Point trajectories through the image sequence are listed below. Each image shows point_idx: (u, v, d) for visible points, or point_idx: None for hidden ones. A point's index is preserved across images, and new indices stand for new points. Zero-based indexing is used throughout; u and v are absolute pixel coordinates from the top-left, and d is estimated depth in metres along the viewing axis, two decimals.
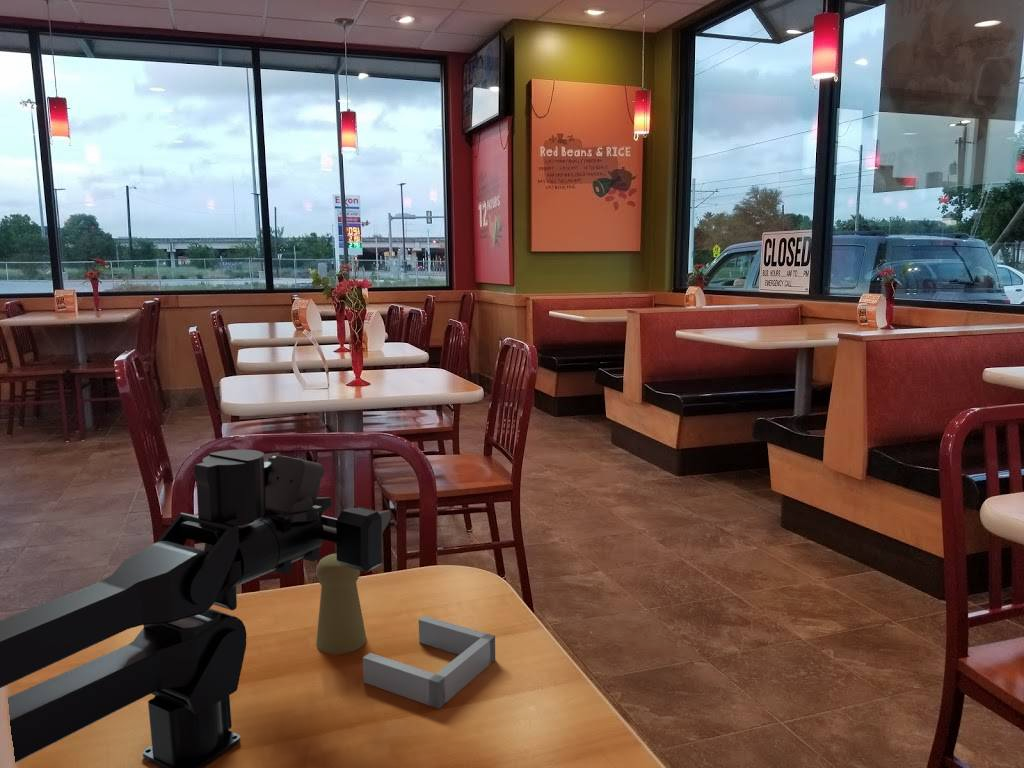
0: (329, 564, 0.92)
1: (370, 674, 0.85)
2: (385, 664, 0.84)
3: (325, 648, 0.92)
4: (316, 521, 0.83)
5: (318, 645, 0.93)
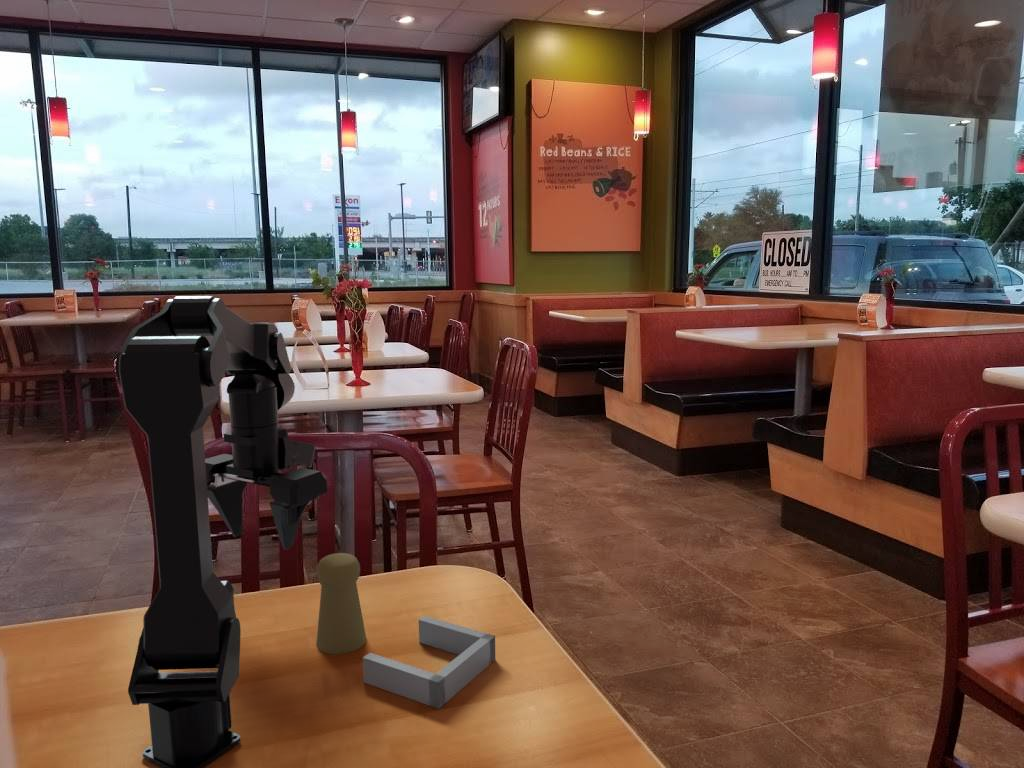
0: (329, 564, 0.92)
1: (370, 674, 0.85)
2: (385, 664, 0.84)
3: (325, 648, 0.92)
4: (280, 467, 0.98)
5: (318, 645, 0.93)
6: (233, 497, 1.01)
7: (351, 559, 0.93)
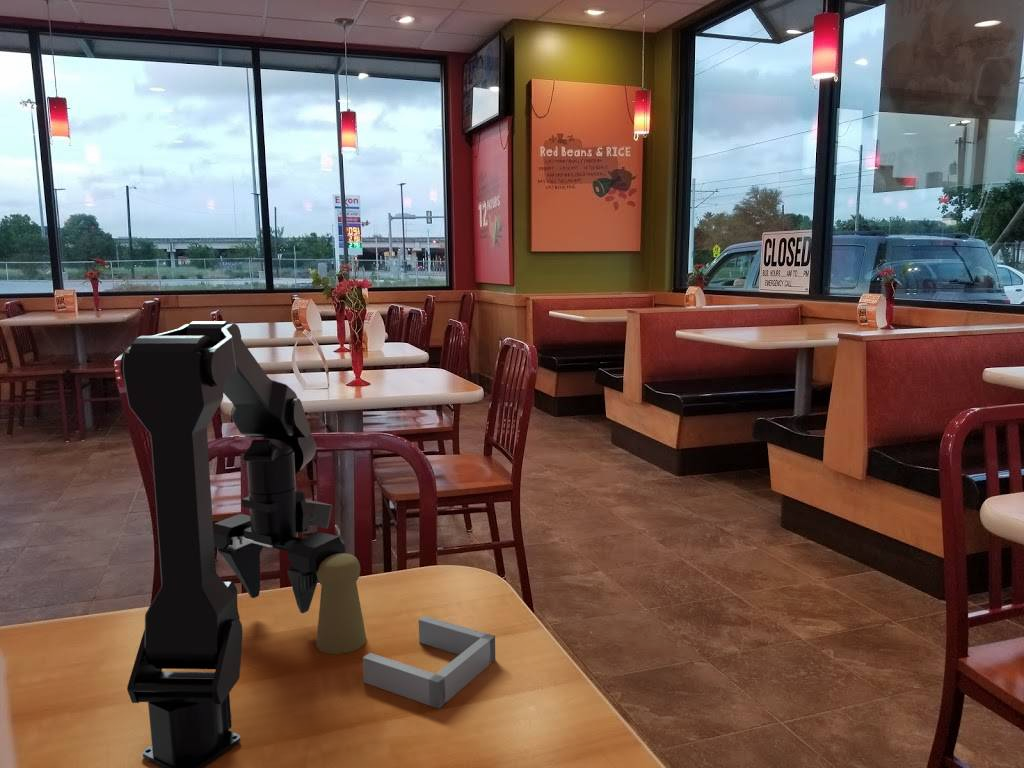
0: (329, 563, 0.92)
1: (370, 674, 0.85)
2: (385, 664, 0.84)
3: (325, 648, 0.92)
4: (297, 531, 0.98)
5: (318, 645, 0.93)
6: (250, 559, 1.01)
7: (351, 559, 0.93)
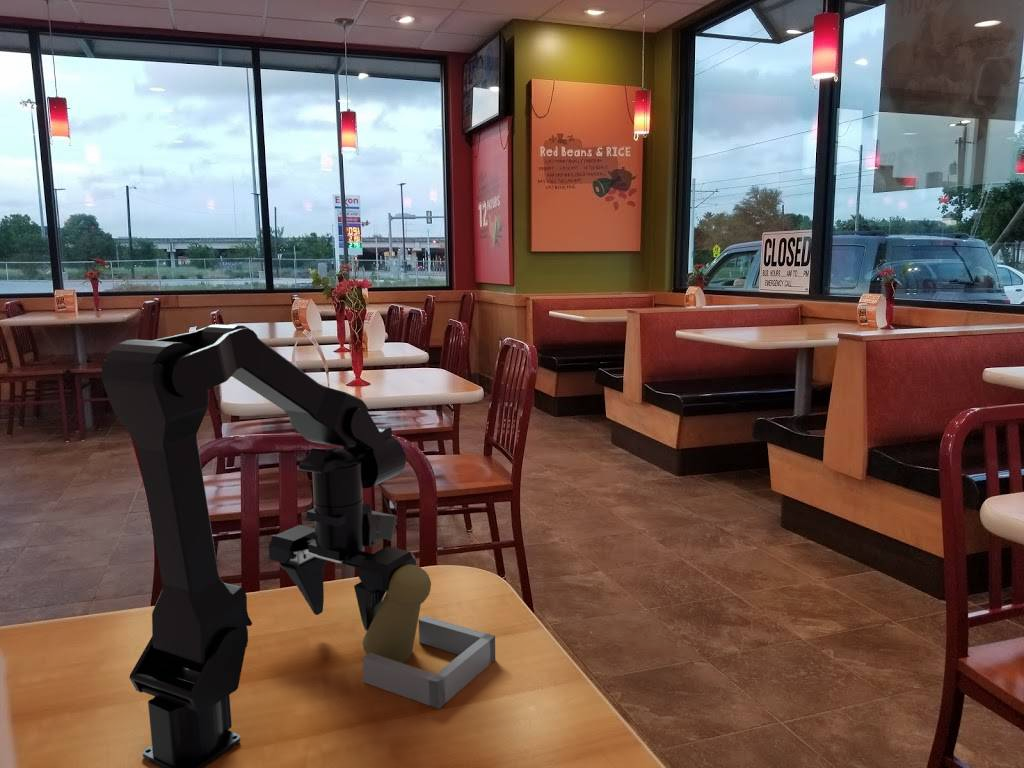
0: (403, 581, 0.86)
1: (370, 674, 0.85)
2: (385, 664, 0.84)
3: None
4: (364, 544, 0.93)
5: (366, 647, 0.90)
6: (314, 574, 0.96)
7: (426, 580, 0.88)
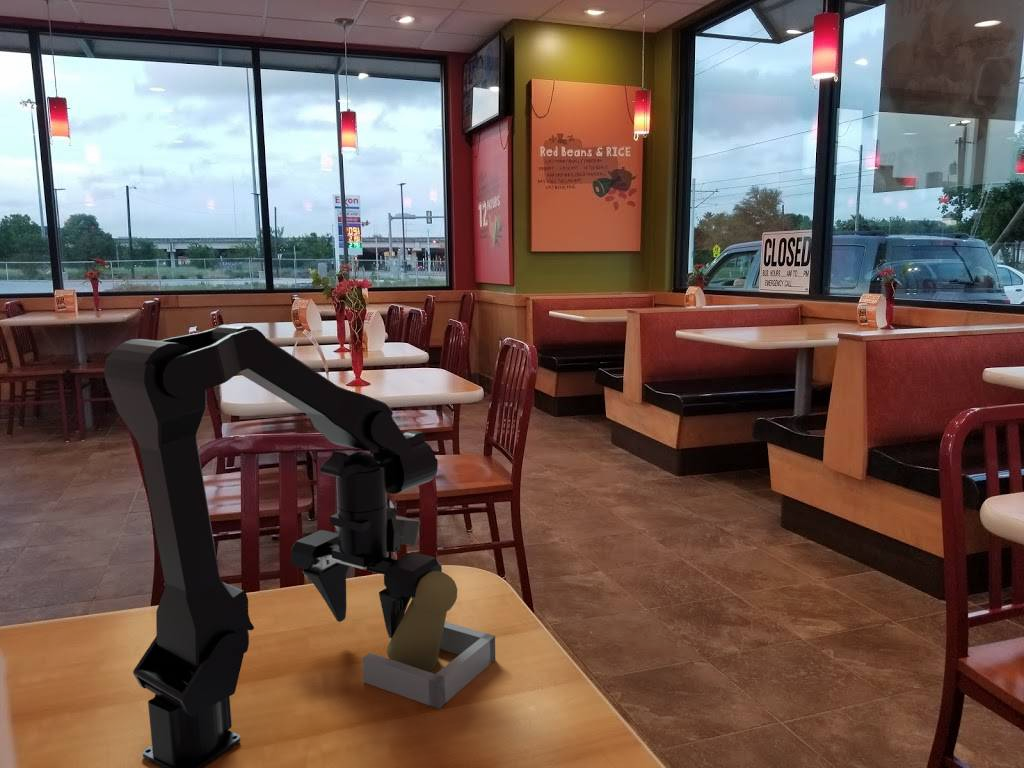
0: (430, 588, 0.84)
1: (370, 674, 0.85)
2: (385, 664, 0.84)
3: None
4: (388, 550, 0.91)
5: (390, 656, 0.88)
6: (337, 580, 0.94)
7: (452, 587, 0.86)
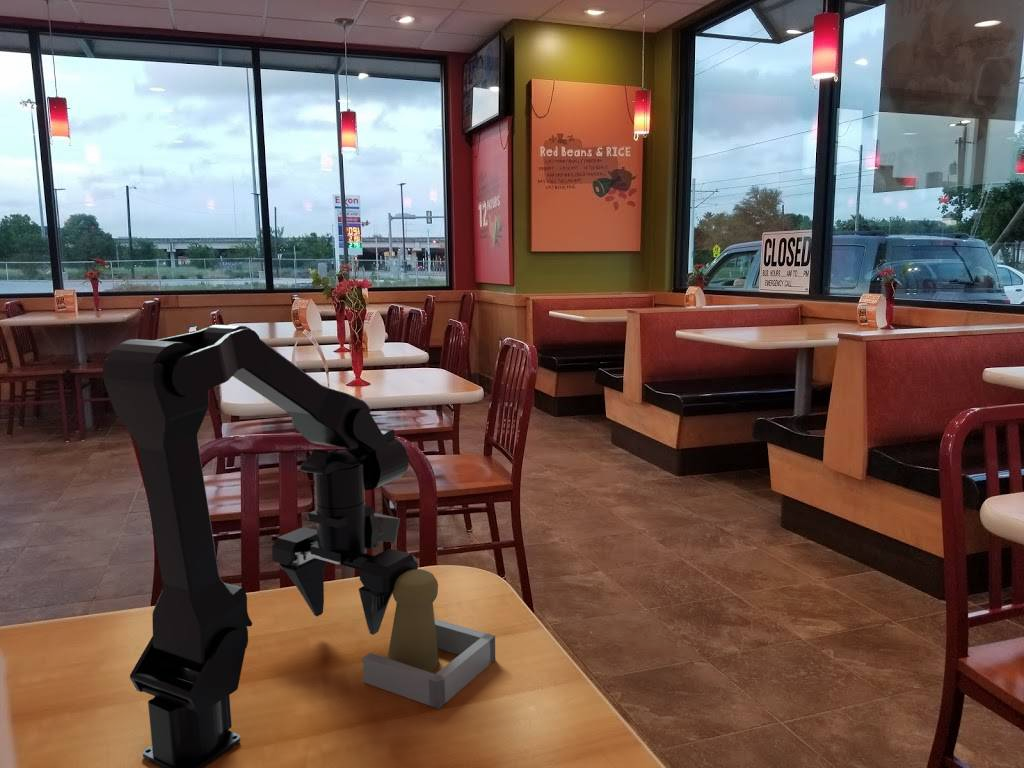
0: (408, 582, 0.86)
1: (370, 674, 0.85)
2: (385, 664, 0.84)
3: None
4: (366, 547, 0.93)
5: None
6: (314, 575, 0.96)
7: (430, 578, 0.87)
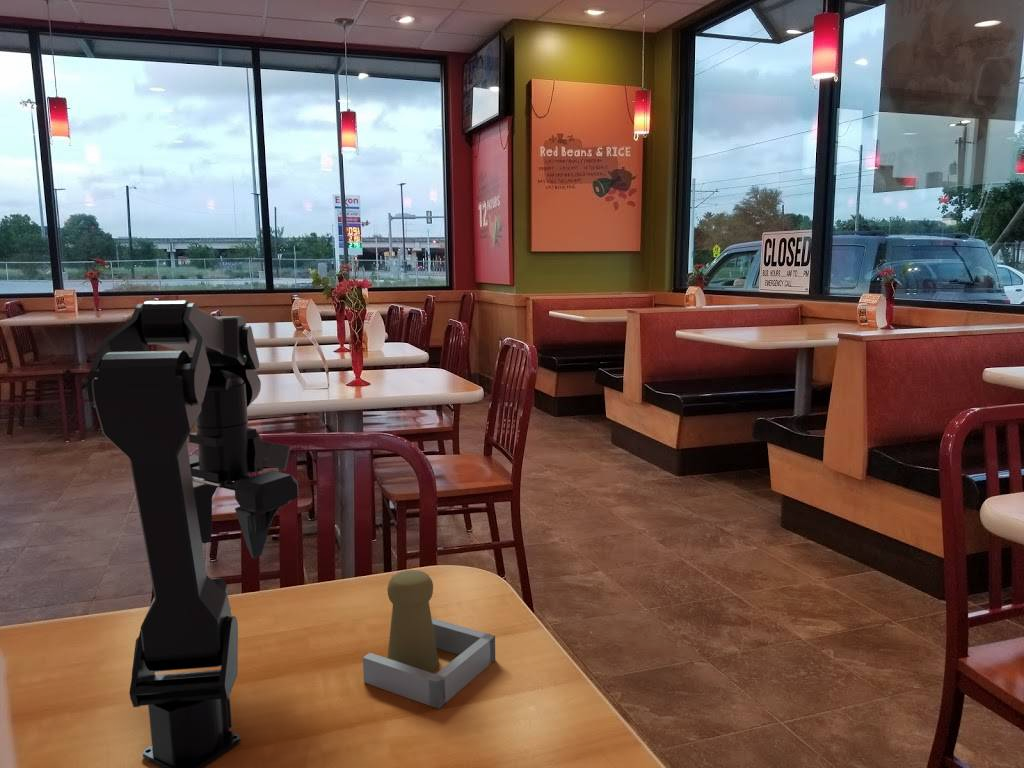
0: (402, 582, 0.86)
1: (370, 674, 0.85)
2: (385, 664, 0.84)
3: None
4: (249, 470, 0.92)
5: None
6: (201, 501, 0.95)
7: (424, 577, 0.88)
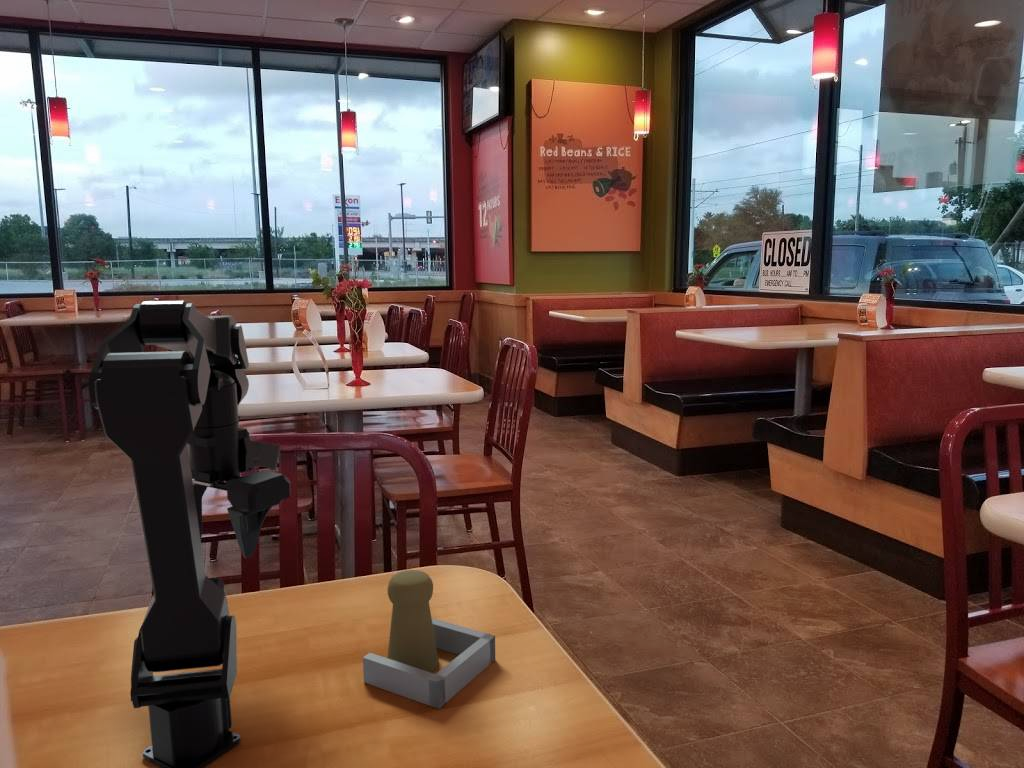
0: (402, 582, 0.86)
1: (370, 674, 0.85)
2: (385, 664, 0.84)
3: None
4: (240, 470, 0.91)
5: None
6: None
7: (424, 577, 0.88)
